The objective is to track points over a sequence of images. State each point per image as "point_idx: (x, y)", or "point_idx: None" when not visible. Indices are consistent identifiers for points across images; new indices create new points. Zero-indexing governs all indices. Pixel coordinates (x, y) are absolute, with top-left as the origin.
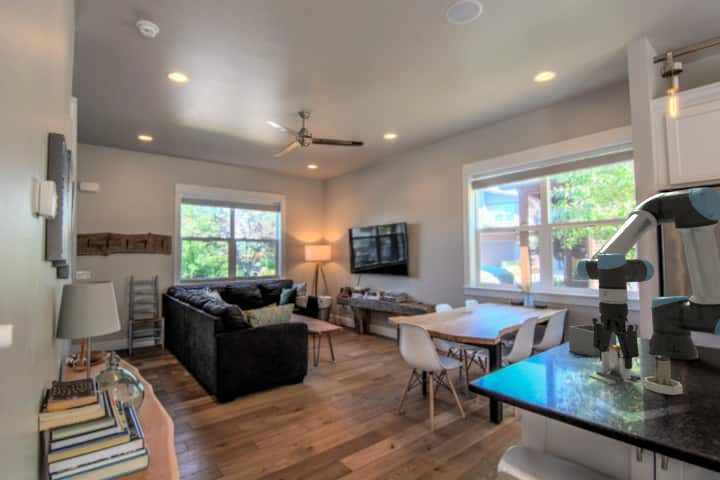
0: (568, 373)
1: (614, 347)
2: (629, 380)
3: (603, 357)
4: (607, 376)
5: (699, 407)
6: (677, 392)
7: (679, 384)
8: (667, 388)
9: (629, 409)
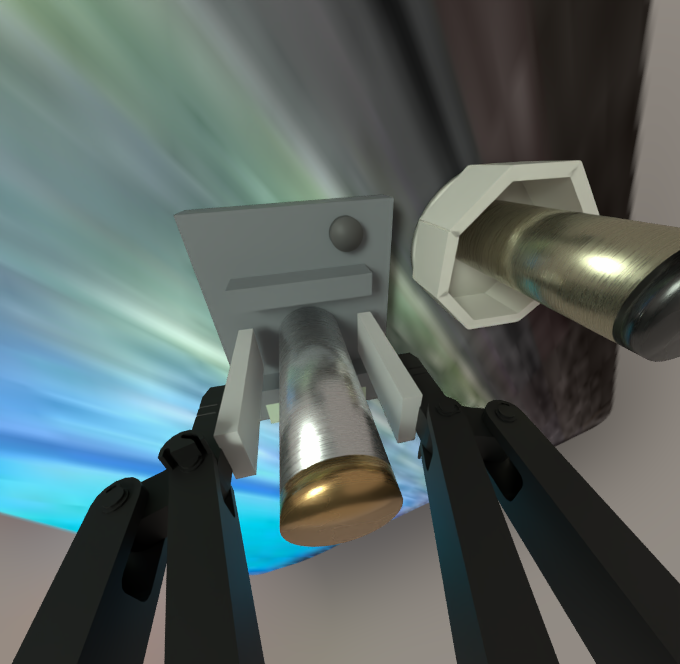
0: (159, 422)
1: (374, 528)
2: (355, 301)
3: (255, 438)
4: None
5: None
6: None
7: (586, 210)
8: None
9: None
